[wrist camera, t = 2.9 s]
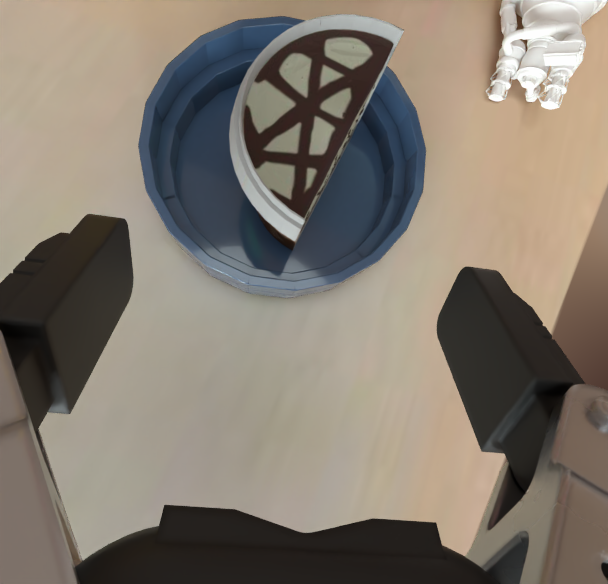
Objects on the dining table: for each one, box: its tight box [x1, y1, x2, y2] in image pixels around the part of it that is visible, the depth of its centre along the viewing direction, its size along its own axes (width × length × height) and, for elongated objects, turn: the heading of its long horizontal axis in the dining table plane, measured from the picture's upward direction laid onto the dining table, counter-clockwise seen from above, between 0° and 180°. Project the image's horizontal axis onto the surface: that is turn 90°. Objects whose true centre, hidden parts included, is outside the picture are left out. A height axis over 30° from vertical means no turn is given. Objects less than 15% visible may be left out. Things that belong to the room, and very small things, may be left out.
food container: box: [229, 14, 404, 251], centre depth 25 cm, size 12×6×10 cm, turn 153°
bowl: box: [138, 16, 426, 298], centre depth 28 cm, size 18×18×4 cm
